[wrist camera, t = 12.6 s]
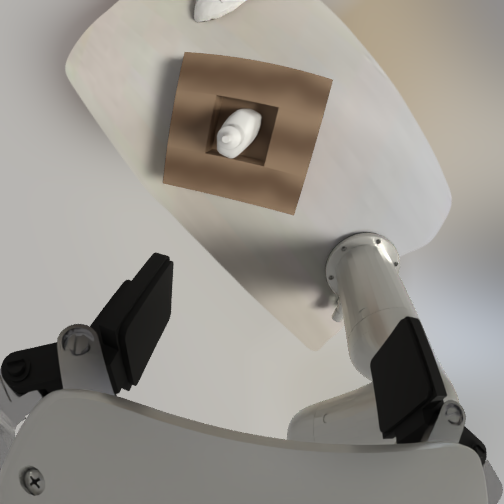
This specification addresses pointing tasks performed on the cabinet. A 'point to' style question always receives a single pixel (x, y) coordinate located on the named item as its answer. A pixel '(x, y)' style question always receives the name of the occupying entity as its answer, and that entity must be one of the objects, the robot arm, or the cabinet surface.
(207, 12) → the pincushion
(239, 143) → the eye dropper bottle
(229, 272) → the cabinet surface
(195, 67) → the walnut socket block
